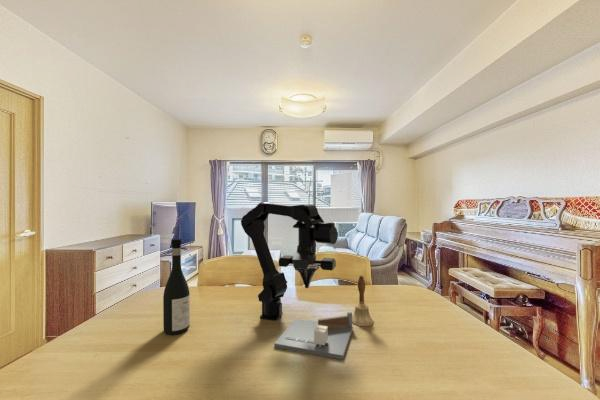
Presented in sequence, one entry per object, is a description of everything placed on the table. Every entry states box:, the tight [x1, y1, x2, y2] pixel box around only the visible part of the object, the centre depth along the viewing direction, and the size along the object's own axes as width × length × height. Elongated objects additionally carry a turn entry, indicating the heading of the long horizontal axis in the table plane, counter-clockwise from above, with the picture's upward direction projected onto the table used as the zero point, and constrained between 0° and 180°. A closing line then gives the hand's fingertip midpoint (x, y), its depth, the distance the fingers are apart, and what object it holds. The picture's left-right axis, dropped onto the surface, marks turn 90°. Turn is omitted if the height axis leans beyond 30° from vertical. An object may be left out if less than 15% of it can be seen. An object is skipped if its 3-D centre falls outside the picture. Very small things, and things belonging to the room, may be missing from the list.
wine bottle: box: [162, 238, 191, 335], centre depth 93 cm, size 8×8×30 cm
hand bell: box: [352, 275, 375, 327], centre depth 100 cm, size 8×8×16 cm
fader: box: [314, 325, 328, 345], centre depth 82 cm, size 3×4×4 cm
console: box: [273, 311, 354, 361], centre depth 88 cm, size 20×19×6 cm
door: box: [317, 315, 348, 330], centre depth 92 cm, size 2×10×3 cm, turn 106°
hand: (307, 287), depth 96 cm, fingers closed
